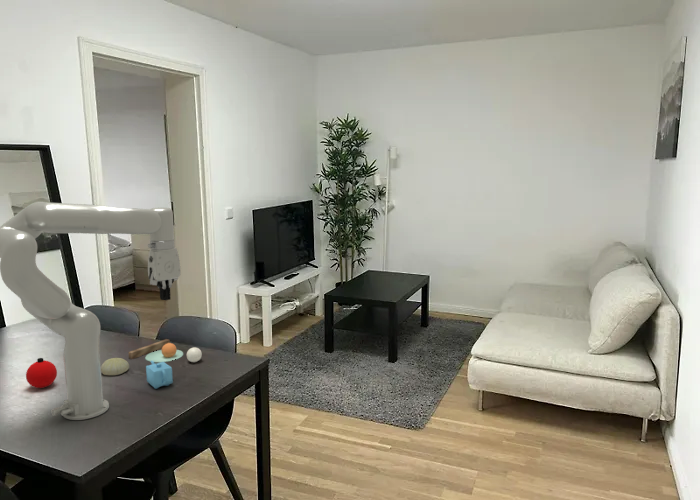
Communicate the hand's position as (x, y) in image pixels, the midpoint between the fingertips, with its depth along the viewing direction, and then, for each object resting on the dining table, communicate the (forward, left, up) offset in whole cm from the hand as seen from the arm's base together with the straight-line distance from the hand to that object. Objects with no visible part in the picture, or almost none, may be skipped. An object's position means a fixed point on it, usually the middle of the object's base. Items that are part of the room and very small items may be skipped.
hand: (165, 299), depth 177 cm
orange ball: (+16, +19, -26) cm, 36 cm away
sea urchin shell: (-4, +24, -30) cm, 38 cm away
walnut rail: (+16, +31, -29) cm, 45 cm away
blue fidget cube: (-3, +2, -29) cm, 30 cm away
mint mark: (+16, +22, -29) cm, 40 cm away
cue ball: (+18, +7, -26) cm, 33 cm away
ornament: (-25, +33, -29) cm, 51 cm away
